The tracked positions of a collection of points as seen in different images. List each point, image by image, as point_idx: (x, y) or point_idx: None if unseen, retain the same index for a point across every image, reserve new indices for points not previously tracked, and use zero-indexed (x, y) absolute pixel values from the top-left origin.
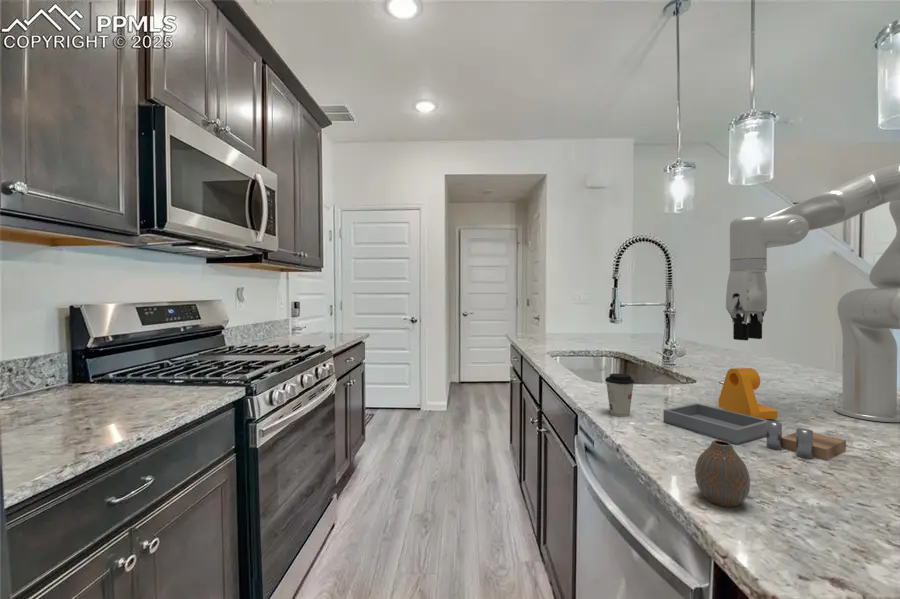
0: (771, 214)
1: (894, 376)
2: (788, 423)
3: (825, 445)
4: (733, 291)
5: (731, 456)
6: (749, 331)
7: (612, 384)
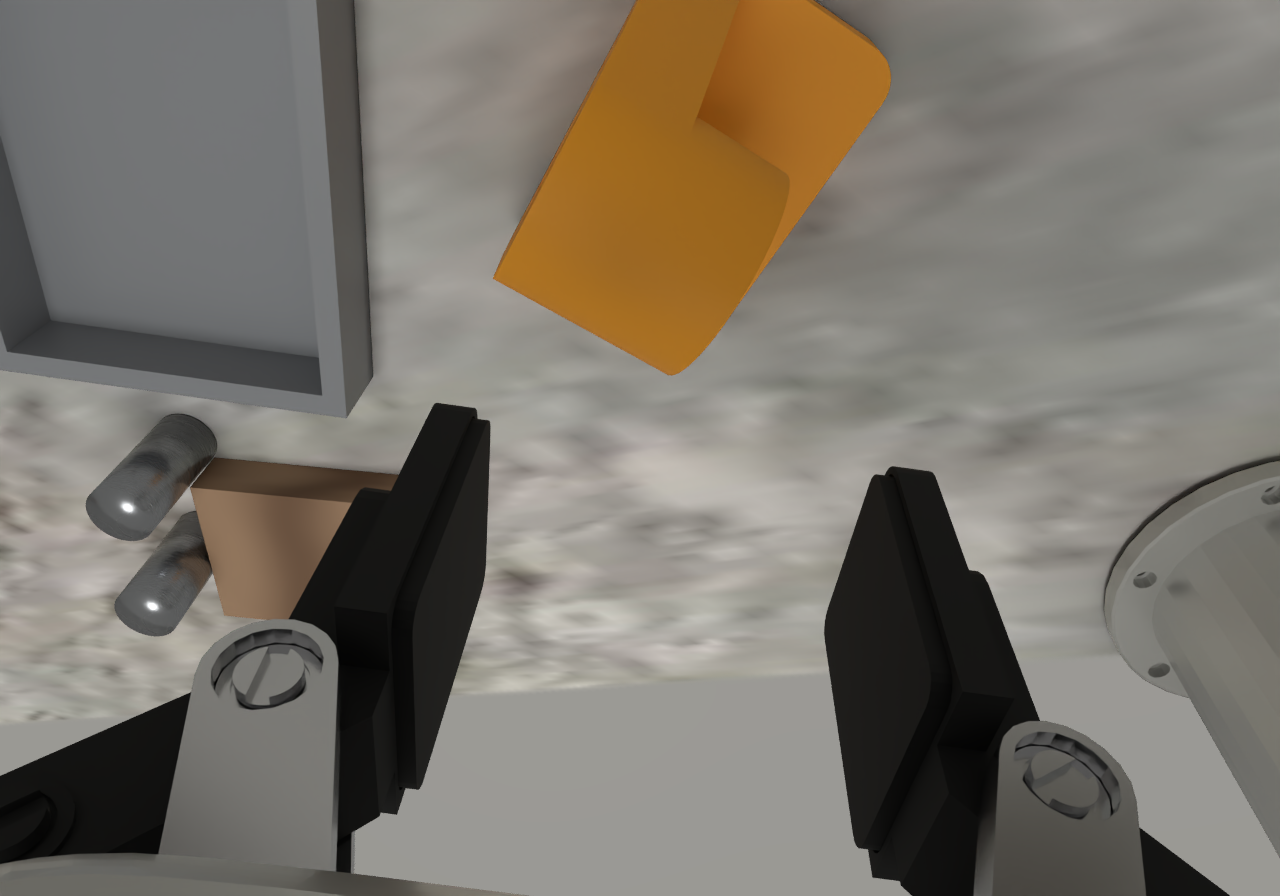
0: None
1: None
2: (701, 368)
3: (271, 605)
4: None
5: None
6: (883, 580)
7: None
